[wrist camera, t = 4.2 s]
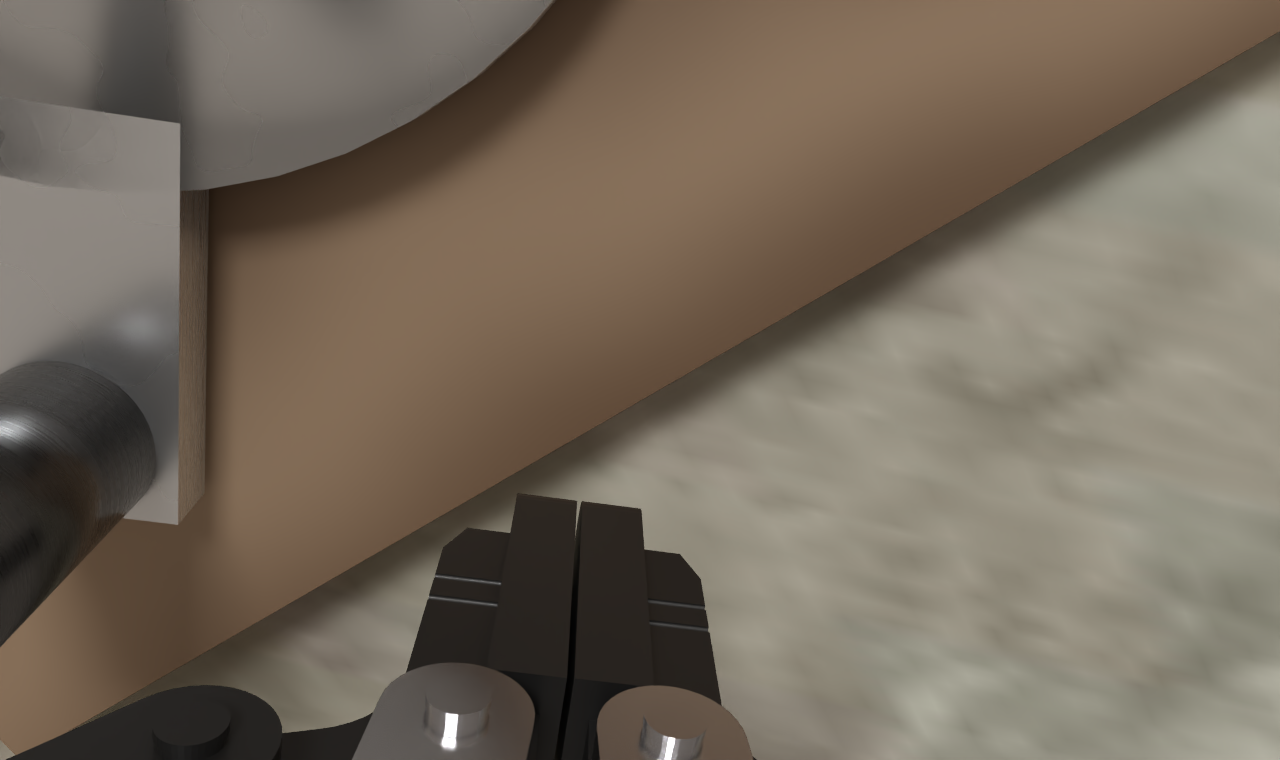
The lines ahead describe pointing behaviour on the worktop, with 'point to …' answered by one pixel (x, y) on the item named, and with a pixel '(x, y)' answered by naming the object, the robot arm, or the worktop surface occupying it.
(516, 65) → the walnut board
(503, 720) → the robot arm
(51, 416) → the pot lid with knob
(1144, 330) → the worktop surface
